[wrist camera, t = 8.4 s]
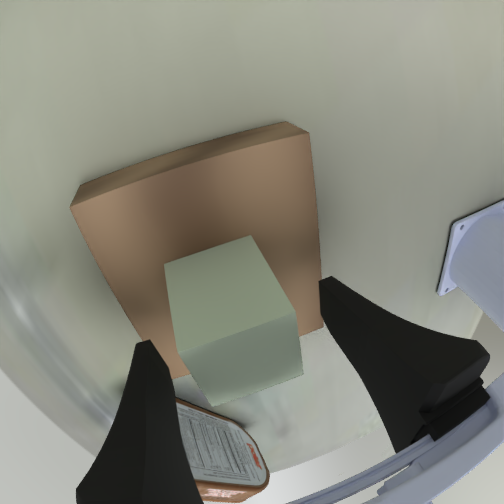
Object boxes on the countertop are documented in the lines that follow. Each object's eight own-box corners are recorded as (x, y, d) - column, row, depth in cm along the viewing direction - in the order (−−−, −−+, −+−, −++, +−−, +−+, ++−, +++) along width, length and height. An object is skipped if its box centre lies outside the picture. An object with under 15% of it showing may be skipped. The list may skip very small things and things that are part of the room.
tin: (113, 391, 21) (122, 493, 14) (138, 372, 21) (153, 483, 14) (233, 435, 30) (257, 504, 23) (256, 422, 30) (284, 493, 23)
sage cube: (250, 234, 14) (295, 311, 10) (265, 298, 17) (303, 374, 13) (163, 264, 14) (177, 352, 10) (191, 323, 16) (212, 406, 12)
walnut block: (281, 119, 15) (309, 132, 12) (304, 296, 22) (323, 327, 20) (82, 181, 14) (69, 207, 11) (164, 344, 21) (169, 380, 18)
